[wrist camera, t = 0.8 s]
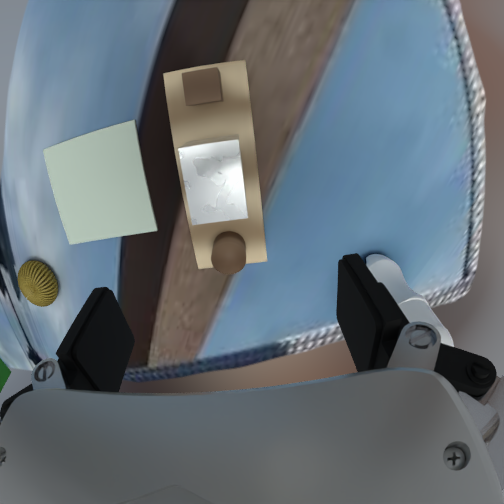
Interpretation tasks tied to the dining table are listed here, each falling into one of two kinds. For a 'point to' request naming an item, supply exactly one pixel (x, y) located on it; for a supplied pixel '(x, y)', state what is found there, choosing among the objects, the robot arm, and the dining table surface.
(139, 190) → the mat
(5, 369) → the hardback book
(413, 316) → the water bottle
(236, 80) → the hand plane
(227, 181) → the grey block
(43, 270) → the sculpture
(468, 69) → the dining table surface
